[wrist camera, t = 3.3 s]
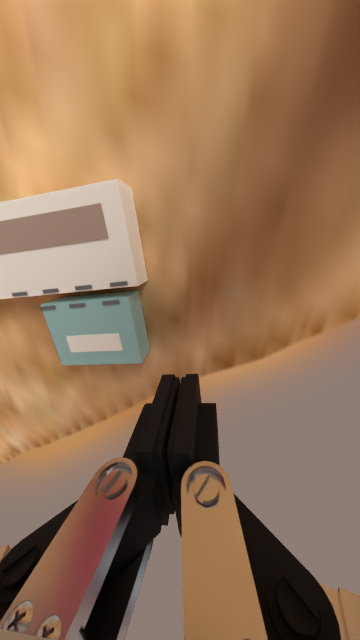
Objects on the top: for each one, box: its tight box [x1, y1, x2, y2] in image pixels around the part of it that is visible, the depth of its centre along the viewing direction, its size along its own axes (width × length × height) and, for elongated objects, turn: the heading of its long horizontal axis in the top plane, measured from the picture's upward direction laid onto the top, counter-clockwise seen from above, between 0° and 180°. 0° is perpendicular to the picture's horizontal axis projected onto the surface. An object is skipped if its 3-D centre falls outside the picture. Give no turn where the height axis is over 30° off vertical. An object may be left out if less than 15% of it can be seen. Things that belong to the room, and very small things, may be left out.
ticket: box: [0, 179, 148, 299], centre depth 17 cm, size 18×7×3 cm, turn 96°
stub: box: [40, 290, 150, 365], centre depth 19 cm, size 8×6×3 cm
